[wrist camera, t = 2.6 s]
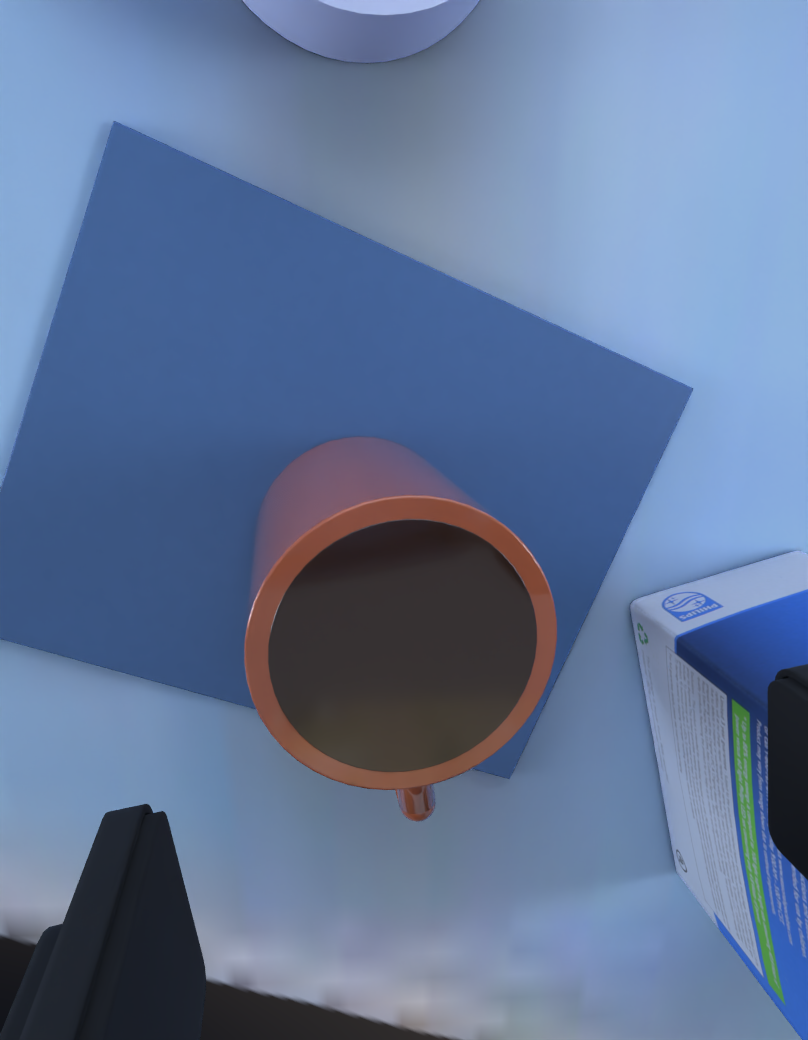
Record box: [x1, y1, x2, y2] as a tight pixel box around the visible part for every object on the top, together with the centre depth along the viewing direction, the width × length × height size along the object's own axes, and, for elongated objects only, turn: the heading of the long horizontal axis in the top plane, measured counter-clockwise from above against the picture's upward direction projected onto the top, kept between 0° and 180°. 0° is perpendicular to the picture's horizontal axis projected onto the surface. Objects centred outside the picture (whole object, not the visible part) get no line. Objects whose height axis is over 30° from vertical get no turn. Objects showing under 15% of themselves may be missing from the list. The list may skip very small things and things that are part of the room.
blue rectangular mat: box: [0, 121, 693, 779], centre depth 24 cm, size 20×16×1 cm
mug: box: [244, 437, 557, 822], centre depth 21 cm, size 10×7×9 cm
